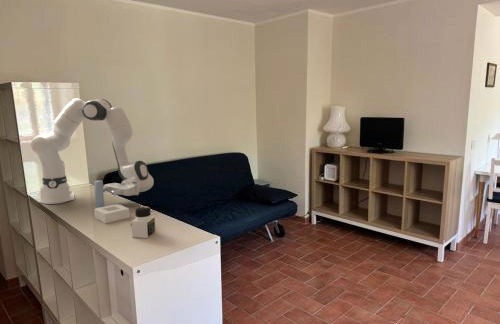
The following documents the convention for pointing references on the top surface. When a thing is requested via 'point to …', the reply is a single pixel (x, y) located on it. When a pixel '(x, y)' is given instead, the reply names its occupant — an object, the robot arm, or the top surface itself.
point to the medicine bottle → (143, 223)
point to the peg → (99, 194)
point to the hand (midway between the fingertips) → (106, 192)
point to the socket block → (111, 213)
